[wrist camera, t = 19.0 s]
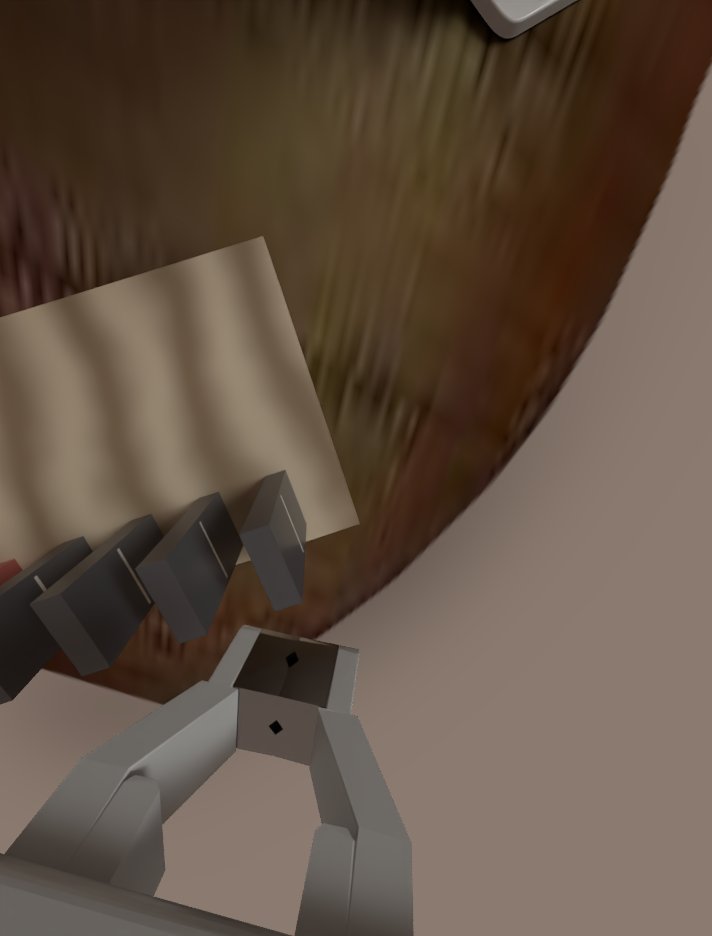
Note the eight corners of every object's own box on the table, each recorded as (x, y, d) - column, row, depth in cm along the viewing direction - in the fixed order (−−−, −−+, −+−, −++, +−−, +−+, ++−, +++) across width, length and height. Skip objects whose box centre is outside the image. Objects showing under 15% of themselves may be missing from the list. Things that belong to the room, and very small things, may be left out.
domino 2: (151, 513, 27) (60, 593, 17) (179, 566, 28) (110, 667, 19) (131, 520, 27) (29, 604, 17) (161, 572, 28) (81, 676, 19)
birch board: (265, 241, 23) (263, 236, 22) (358, 518, 30) (359, 523, 29) (-151, 371, 23) (-172, 370, 22) (37, 625, 29) (27, 634, 28)
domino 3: (218, 491, 27) (165, 558, 17) (243, 545, 28) (207, 634, 19) (199, 498, 27) (134, 569, 17) (224, 551, 28) (178, 643, 19)
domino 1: (83, 536, 27) (-47, 629, 17) (115, 587, 28) (12, 700, 19) (63, 542, 27) (-79, 639, 17) (96, 594, 28) (-17, 710, 18)
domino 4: (285, 469, 27) (269, 524, 17) (306, 524, 28) (302, 602, 19) (265, 476, 27) (238, 534, 17) (288, 530, 28) (274, 611, 19)
